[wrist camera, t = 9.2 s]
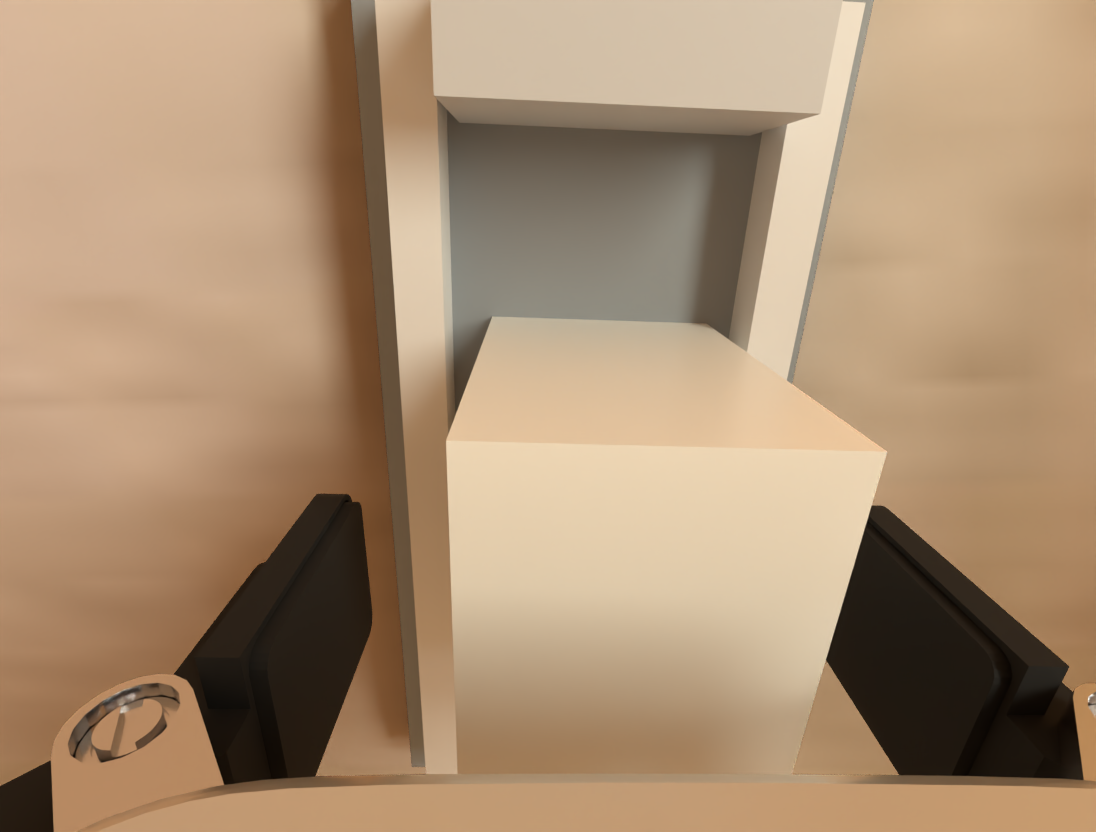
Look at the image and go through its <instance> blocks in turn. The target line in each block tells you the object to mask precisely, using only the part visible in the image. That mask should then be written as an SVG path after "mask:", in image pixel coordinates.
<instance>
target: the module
mask: <svg viewBox="0 0 1096 832" xmlns="http://www.w3.org/2000/svg"><path fill="white" fill-rule="evenodd" d="M446 454H447V483H448V512H449V541H450V570H451V600H452V629H453V658H454V687H455V716H456V746H457V774H792V773H793V769H794V766H795V763H796V759H797V756H798V752H799V749H800V746H801V742H802V739H803V736H804V732H805V729H806V725H807V722H808V719H809V715H810V712H811V709H812V705H813V702H814V698H815V695H816V692H817V688H818V685H819V681H820V678H821V675H822V671H823V668H824V665H825V661H826V658H827V654H828V651H829V648H830V644H831V641H832V638H833V634H834V631H835V627H836V624H837V621H838V617H839V614H840V611H841V607H842V604H843V600H844V597H845V594H846V590H847V587H848V584H849V580H850V577H851V573H852V570H853V567H854V563H855V560H856V556H857V553H858V550H859V546H860V543H861V540H862V536H863V533H864V529H865V526H866V523H867V519H868V516H869V513H870V509H871V506H872V502H873V499H874V496H875V492H876V489H877V486H878V482H879V479H880V475H881V472H882V469H883V465H884V462H885V459H886V455H887V451H886V450H884V449H883V448H881V447H880V446H879V445H877V444H876V443H874V442H873V441H872V440H870V439H869V438H867V437H866V436H864V435H863V434H862V433H860V432H859V431H857V430H856V429H855V428H853V427H852V426H850V425H849V424H847V423H846V422H845V421H843V420H842V419H840V418H839V417H838V416H836V415H835V414H833V413H832V412H831V411H829V410H828V409H826V408H825V407H823V406H822V405H821V404H819V403H818V402H816V401H815V400H814V399H812V398H811V397H809V396H808V395H807V394H805V393H804V392H802V391H801V390H799V389H798V388H797V387H795V386H794V385H792V384H791V383H790V382H788V381H787V380H785V379H784V378H783V377H781V376H780V375H778V374H777V373H775V372H774V371H773V370H771V369H770V368H768V367H767V366H766V365H764V364H763V363H761V362H760V361H758V360H757V359H756V358H754V357H753V356H751V355H750V354H749V353H747V352H746V351H744V350H743V349H742V348H740V347H739V346H737V345H736V344H734V343H733V342H732V341H730V340H729V339H727V338H726V337H725V336H723V335H722V334H720V333H719V332H718V331H716V330H715V329H713V328H712V327H710V326H709V325H708V324H704V323H674V322H644V321H614V320H584V319H554V318H524V317H493V316H492V319H491V321H490V324H489V327H488V329H487V332H486V335H485V337H484V340H483V343H482V346H481V348H480V351H479V354H478V356H477V359H476V362H475V364H474V367H473V370H472V372H471V375H470V378H469V380H468V383H467V386H466V388H465V391H464V394H463V397H462V399H461V402H460V405H459V407H458V410H457V413H456V415H455V418H454V421H453V423H452V426H451V429H450V431H449V434H448V437H447V440H446Z"/></svg>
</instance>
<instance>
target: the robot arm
mask: <svg viewBox="0 0 1096 832" xmlns="http://www.w3.org/2000/svg"><path fill="white" fill-rule="evenodd" d="M371 626H372V606H371V596H370V586H369V577H368V567H367V557H366V547H365V538H364V528H363V518H362V509H361V505H360V503H359V502H352V500H351V497H350V496H349V495H348V494H317V495H316V496H315V497H314V498H313V500H312V501H311V502H310V504H309V505H308V506H307V508H306V509H305V510H304V512H303V513H302V514H301V516H300V517H299V518H298V520H297V521H296V522H295V524H294V525H293V526H292V528H291V529H290V530H289V532H288V533H287V534H286V536H285V537H284V538H283V540H282V541H281V542H280V544H279V545H278V546H277V548H276V549H275V550H274V552H273V553H272V554H271V556H270V557H269V558H268V560H267V561H266V562H264V563H261V564H259V565H258V566H257V567H256V568H255V569H254V570H253V571H252V573H251V574H250V575H249V577H248V578H247V579H246V581H245V582H244V583H243V585H242V586H241V587H240V588H239V590H238V591H237V592H236V594H235V595H234V596H233V598H232V599H231V600H230V602H229V603H228V604H227V605H226V607H225V608H224V609H223V611H222V612H221V613H220V615H219V616H218V617H217V619H216V620H215V621H214V622H213V624H212V625H211V626H210V628H209V629H208V630H207V632H206V633H205V634H204V636H203V637H202V638H201V639H200V641H199V642H198V643H197V645H196V646H195V647H194V649H193V650H192V651H191V653H190V654H189V655H188V656H187V658H186V659H185V660H184V662H183V663H182V664H181V666H180V667H179V668H178V670H177V671H176V672H175V673H174V675H170V674H154V675H147V676H141V677H138V678H135V679H132V680H129V681H126V682H123V683H120V684H118V685H116V686H114V687H112V688H110V689H108V690H106V691H104V692H102V693H100V694H99V695H97V696H96V697H94V698H93V699H92V700H90V701H89V702H87V703H86V704H85V705H83V706H82V707H80V708H79V709H78V710H77V711H76V712H75V713H74V714H73V715H72V716H71V717H70V718H69V719H68V720H67V721H66V722H65V723H64V725H63V726H62V728H61V730H60V731H59V733H58V734H57V736H56V738H55V739H54V743H53V747H52V752H51V761H49V762H47V763H45V764H43V765H41V766H39V767H37V768H35V769H33V770H31V771H29V772H27V773H25V774H23V775H21V776H19V777H17V778H15V779H14V780H12V781H10V782H8V783H6V784H4V785H2V786H0V832H1096V683H1085V684H1082V685H1080V686H1078V687H1077V688H1075V689H1074V691H1073V692H1072V691H1071V690H1070V689H1069V688H1068V687H1066V686H1065V685H1064V684H1063V683H1062V680H1063V678H1064V676H1065V674H1066V672H1067V670H1068V668H1069V666H1068V665H1067V664H1066V663H1065V662H1063V661H1062V660H1061V659H1060V658H1059V657H1058V656H1057V655H1055V654H1054V653H1053V652H1052V651H1051V650H1050V649H1048V648H1047V647H1046V646H1045V645H1044V644H1043V643H1042V642H1040V641H1039V640H1038V639H1037V638H1036V637H1035V636H1034V635H1032V634H1031V633H1030V632H1029V631H1028V630H1027V629H1025V628H1024V627H1023V626H1022V625H1021V624H1020V623H1019V622H1017V621H1016V620H1015V619H1014V618H1013V617H1012V616H1010V615H1009V614H1008V613H1007V612H1006V611H1005V610H1004V609H1002V608H1001V607H1000V606H999V605H998V604H997V603H996V602H994V601H993V600H992V599H991V598H990V597H989V596H987V595H986V594H985V593H984V592H983V591H982V590H981V589H979V588H978V587H977V586H976V585H975V584H974V583H973V582H971V581H970V580H969V579H968V578H967V577H966V576H964V575H963V574H962V573H961V572H960V571H959V570H958V569H956V568H955V567H954V566H953V565H952V564H951V563H950V562H948V561H947V560H946V559H945V558H944V557H943V556H941V555H940V554H939V553H938V552H937V551H936V550H935V549H933V548H932V547H931V546H930V545H929V544H928V543H926V542H925V541H924V540H923V539H922V538H921V537H920V536H918V535H917V534H916V533H915V532H914V531H913V530H912V529H910V528H909V527H908V526H907V525H906V524H905V523H903V522H902V521H901V520H900V519H899V518H898V517H897V516H895V515H894V514H893V513H892V512H891V511H890V510H889V509H887V508H886V507H884V506H871V509H870V513H869V516H868V519H867V523H866V526H865V529H864V533H863V536H862V540H861V543H860V546H859V550H858V553H857V556H856V560H855V563H854V567H853V570H852V573H851V577H850V580H849V584H848V587H847V590H846V594H845V597H844V600H843V604H842V607H841V611H840V614H839V617H838V621H837V624H836V627H835V631H834V634H833V638H832V641H831V644H830V648H829V651H828V654H827V658H826V660H827V662H828V664H829V665H830V667H831V668H832V670H833V671H834V673H835V675H836V676H837V678H838V679H839V681H840V682H841V684H842V686H843V687H844V689H845V690H846V692H847V693H848V695H849V697H850V698H851V700H852V701H853V703H854V704H855V706H856V708H857V709H858V711H859V712H860V714H861V715H862V717H863V719H864V720H865V722H866V723H867V725H868V726H869V728H870V730H871V731H872V733H873V734H874V736H875V737H876V739H877V741H878V742H879V744H880V745H881V747H882V748H883V750H884V752H885V753H886V755H887V756H888V758H889V759H890V761H891V763H892V764H893V766H894V767H895V769H896V770H897V772H898V774H899V775H820V774H408V775H359V776H316V777H315V775H316V773H317V770H318V768H319V765H320V762H321V760H322V757H323V754H324V752H325V749H326V747H327V744H328V741H329V739H330V736H331V734H332V731H333V728H334V726H335V723H336V720H337V718H338V715H339V713H340V710H341V707H342V705H343V702H344V700H345V697H346V694H347V692H348V689H349V687H350V684H351V681H352V679H353V676H354V673H355V671H356V668H357V666H358V663H359V660H360V658H361V655H362V653H363V650H364V647H365V645H366V642H367V640H368V637H369V634H370V631H371Z"/></svg>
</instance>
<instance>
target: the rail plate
mask: <svg viewBox="0 0 1096 832" xmlns="http://www.w3.org/2000/svg"><path fill="white" fill-rule="evenodd" d="M873 1H874V0H351V9H352V21H353V34H354V46H355V59H356V71H357V84H358V97H359V109H360V122H361V134H362V147H363V159H364V172H365V185H366V197H367V210H368V222H369V235H370V247H371V260H372V273H373V285H374V298H375V310H376V323H377V336H378V348H379V361H380V373H381V386H382V398H383V411H384V424H385V436H386V449H387V461H388V474H389V486H390V499H391V512H392V524H393V537H394V549H395V562H396V574H397V587H398V600H399V612H400V625H401V637H402V650H403V663H404V675H405V688H406V700H407V713H408V725H409V738H410V751H411V763H412V767H425V768H426V774H457V746H456V716H455V687H454V658H453V629H452V600H451V570H450V541H449V512H448V483H447V454H446V440H447V437H448V434H449V431H450V429H451V426H452V423H453V421H454V418H455V415H456V413H457V410H458V407H459V405H460V402H461V399H462V397H463V394H464V391H465V388H466V386H467V383H468V380H469V378H470V375H471V372H472V370H473V367H474V364H475V362H476V359H477V356H478V354H479V351H480V348H481V346H482V343H483V340H484V337H485V335H486V332H487V329H488V327H489V324H490V321H491V319H492V316H493V317H524V318H554V319H584V320H614V321H644V322H674V323H704V324H708V325H709V326H710V327H712V328H713V329H715V330H716V331H718V332H719V333H720V334H722V335H723V336H725V337H726V338H727V339H729V340H730V341H732V342H733V343H734V344H736V345H737V346H739V347H740V348H742V349H743V350H744V351H746V352H747V353H749V354H750V355H751V356H753V357H754V358H756V359H757V360H758V361H760V362H761V363H763V364H764V365H766V366H767V367H768V368H770V369H771V370H773V371H774V372H775V373H777V374H778V375H780V376H781V377H783V378H784V379H785V380H787V381H788V382H790V383H791V384H792V382H793V377H794V372H795V367H796V363H797V358H798V353H799V349H800V344H801V339H802V335H803V330H804V325H805V321H806V316H807V311H808V306H809V302H810V297H811V292H812V288H813V283H814V278H815V274H816V269H817V264H818V260H819V255H820V250H821V245H822V241H823V236H824V231H825V227H826V222H827V217H828V213H829V208H830V203H831V199H832V194H833V189H834V184H835V180H836V175H837V170H838V166H839V161H840V156H841V152H842V147H843V142H844V138H845V133H846V128H847V123H848V119H849V114H850V109H851V105H852V100H853V95H854V91H855V86H856V81H857V77H858V72H859V67H860V62H861V58H862V53H863V48H864V44H865V39H866V34H867V30H868V25H869V20H870V16H871V11H872V6H873Z"/></svg>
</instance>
